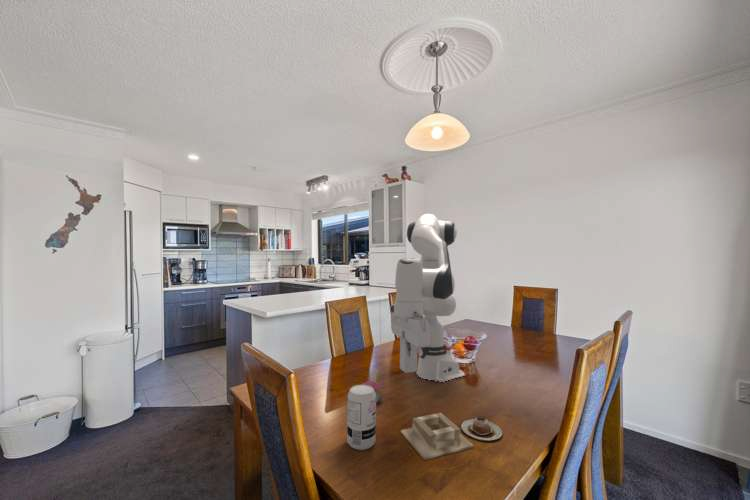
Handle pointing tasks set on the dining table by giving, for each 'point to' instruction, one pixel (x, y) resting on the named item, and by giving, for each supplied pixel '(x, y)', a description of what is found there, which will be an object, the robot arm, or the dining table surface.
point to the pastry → (481, 428)
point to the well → (435, 436)
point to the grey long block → (406, 356)
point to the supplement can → (361, 417)
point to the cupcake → (375, 386)
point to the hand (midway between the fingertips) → (408, 354)
